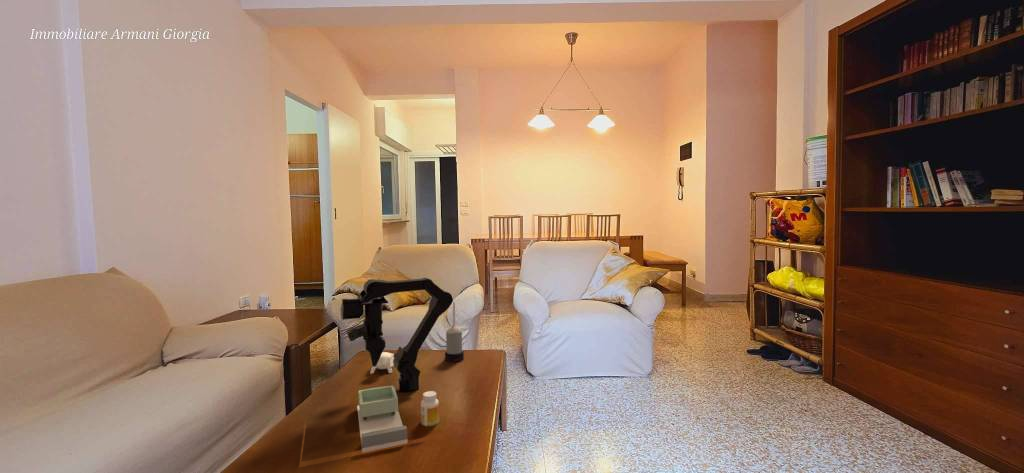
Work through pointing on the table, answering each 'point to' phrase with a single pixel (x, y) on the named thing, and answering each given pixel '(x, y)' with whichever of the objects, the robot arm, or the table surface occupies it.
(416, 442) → the table surface
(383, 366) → the white animal figurine
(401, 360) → the robot arm
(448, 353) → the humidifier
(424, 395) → the supplement bottle
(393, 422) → the board
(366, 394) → the sage green storage bin
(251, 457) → the table surface
